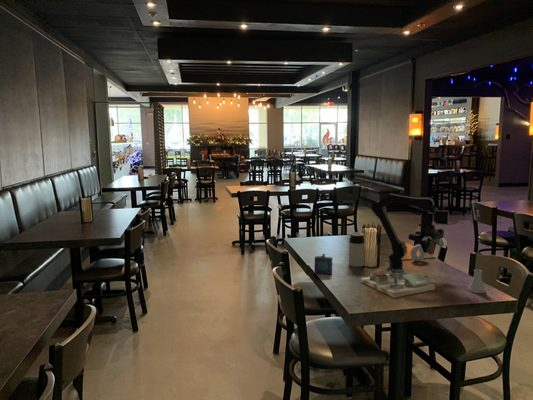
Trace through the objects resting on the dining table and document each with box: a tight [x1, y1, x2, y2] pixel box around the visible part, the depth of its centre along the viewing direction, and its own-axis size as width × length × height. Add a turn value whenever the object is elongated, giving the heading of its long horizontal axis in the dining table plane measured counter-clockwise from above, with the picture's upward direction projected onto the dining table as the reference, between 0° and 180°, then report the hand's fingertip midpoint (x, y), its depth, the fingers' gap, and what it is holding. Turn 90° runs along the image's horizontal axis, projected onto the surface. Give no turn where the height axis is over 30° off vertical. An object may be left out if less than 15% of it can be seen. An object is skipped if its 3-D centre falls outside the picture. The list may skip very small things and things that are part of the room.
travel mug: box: [348, 231, 365, 268], centre depth 233 cm, size 8×8×18 cm
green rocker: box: [402, 271, 432, 287], centre depth 198 cm, size 8×11×1 cm
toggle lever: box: [391, 269, 397, 284], centre depth 194 cm, size 2×2×7 cm
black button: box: [394, 269, 404, 273], centre depth 209 cm, size 4×4×2 cm
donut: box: [409, 243, 427, 262], centre depth 241 cm, size 10×3×10 cm, turn 110°
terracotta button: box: [374, 268, 385, 277], centre depth 203 cm, size 4×4×2 cm
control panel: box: [360, 270, 436, 299], centre depth 201 cm, size 23×25×5 cm
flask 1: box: [314, 253, 333, 276], centre depth 218 cm, size 9×3×11 cm, turn 78°
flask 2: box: [467, 269, 487, 294], centre depth 193 cm, size 7×7×10 cm
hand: (425, 252), depth 216 cm, fingers closed
